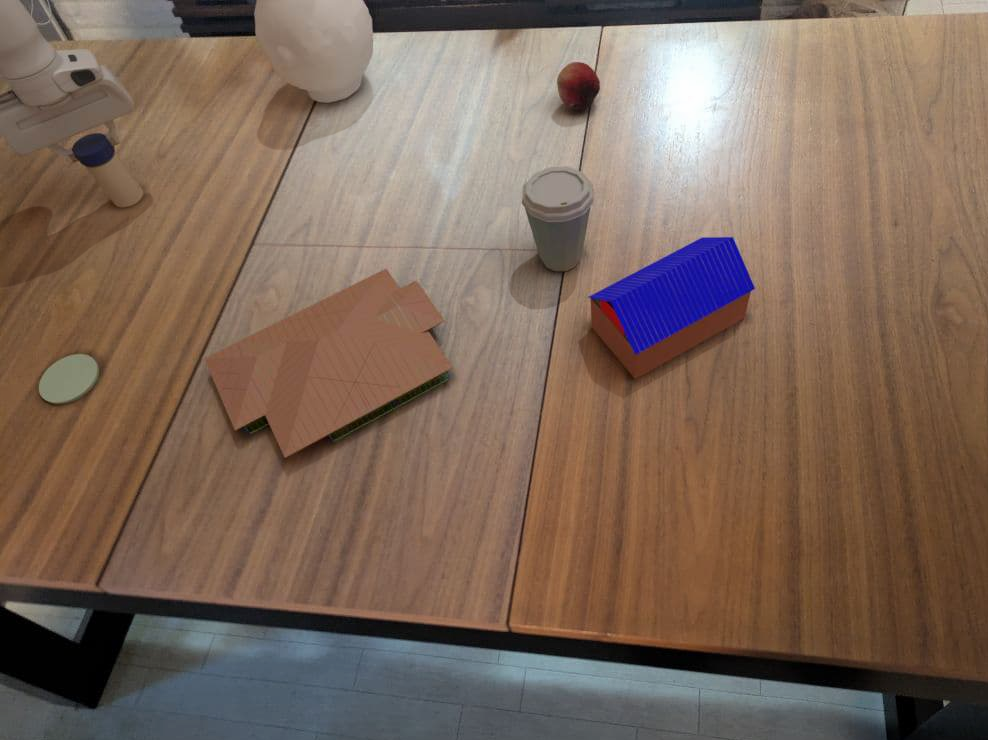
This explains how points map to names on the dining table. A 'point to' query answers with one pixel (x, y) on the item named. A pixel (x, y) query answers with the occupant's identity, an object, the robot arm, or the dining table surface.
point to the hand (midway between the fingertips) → (95, 151)
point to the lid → (93, 149)
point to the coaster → (69, 379)
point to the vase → (316, 44)
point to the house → (673, 303)
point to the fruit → (578, 85)
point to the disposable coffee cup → (558, 214)
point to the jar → (117, 182)
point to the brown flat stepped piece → (332, 362)
